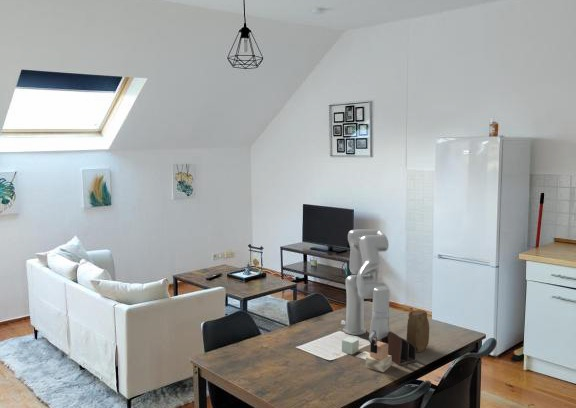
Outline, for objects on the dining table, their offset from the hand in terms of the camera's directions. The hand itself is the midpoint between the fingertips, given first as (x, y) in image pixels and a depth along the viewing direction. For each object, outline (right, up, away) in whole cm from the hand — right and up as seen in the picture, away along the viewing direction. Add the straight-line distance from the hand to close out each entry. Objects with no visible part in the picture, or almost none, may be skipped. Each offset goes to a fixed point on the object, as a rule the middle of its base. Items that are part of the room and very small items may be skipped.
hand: (379, 349), depth 250 cm
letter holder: (+9, -7, +13) cm, 17 cm away
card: (-4, -7, +12) cm, 14 cm away
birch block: (0, -8, +1) cm, 8 cm away
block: (+23, -6, +22) cm, 32 cm away
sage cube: (-11, -6, +18) cm, 22 cm away
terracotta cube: (0, -3, 0) cm, 3 cm away
